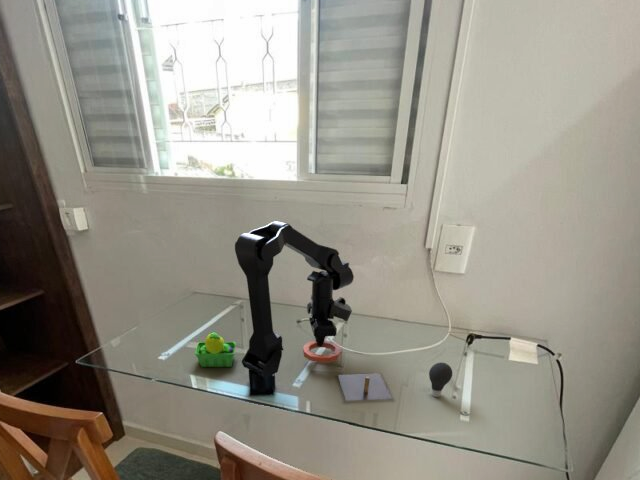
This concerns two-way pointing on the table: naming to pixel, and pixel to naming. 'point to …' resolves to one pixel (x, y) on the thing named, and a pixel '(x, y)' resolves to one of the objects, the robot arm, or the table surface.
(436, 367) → the light bulb
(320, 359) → the ring
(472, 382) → the table surface
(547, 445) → the table surface
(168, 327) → the table surface
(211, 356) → the fruit basket
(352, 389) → the peg stand
